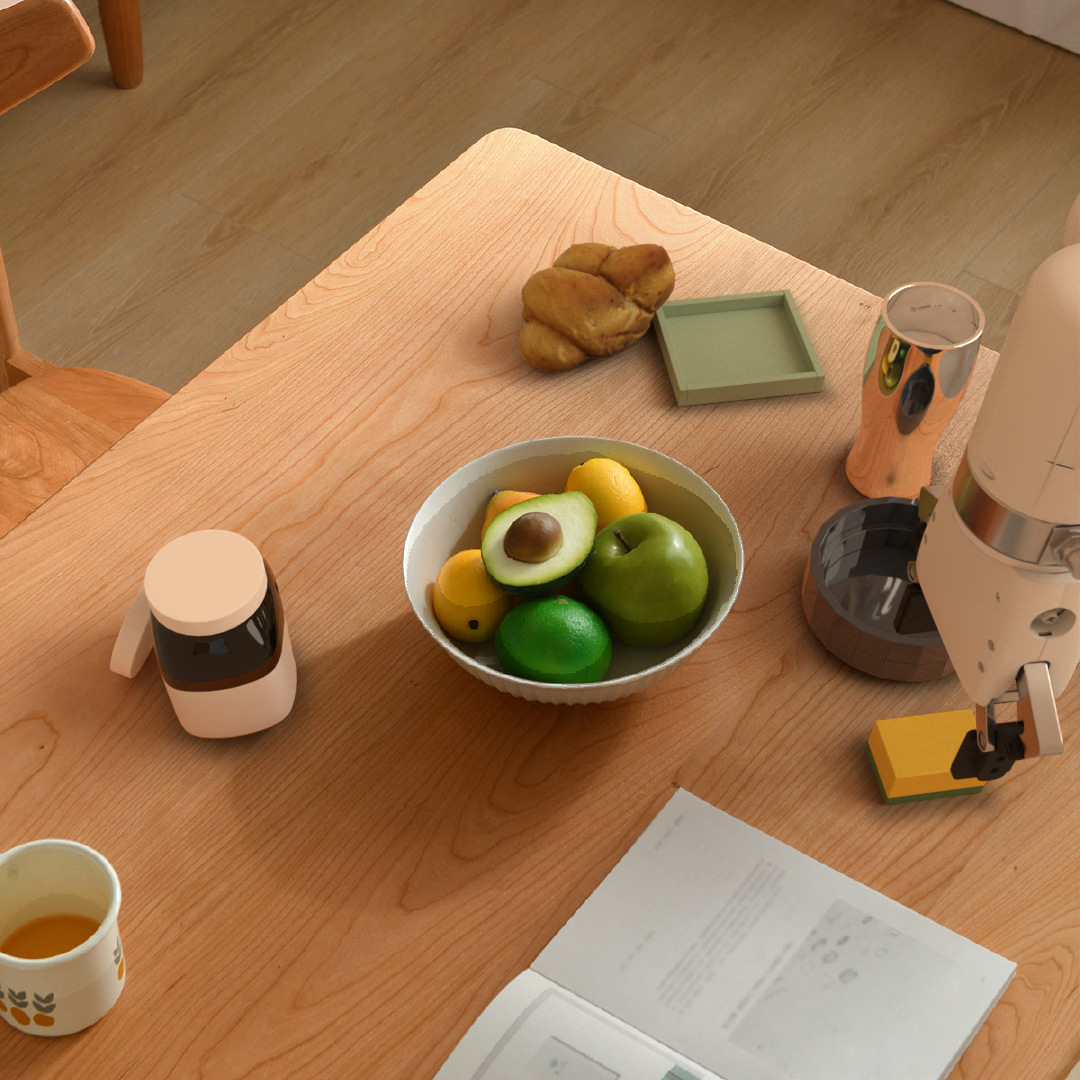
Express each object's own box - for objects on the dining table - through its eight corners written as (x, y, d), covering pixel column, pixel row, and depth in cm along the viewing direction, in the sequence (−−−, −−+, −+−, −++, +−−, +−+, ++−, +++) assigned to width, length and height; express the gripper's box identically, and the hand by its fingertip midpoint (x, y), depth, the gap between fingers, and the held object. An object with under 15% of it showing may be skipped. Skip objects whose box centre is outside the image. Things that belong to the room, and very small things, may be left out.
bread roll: (555, 403, 103) (556, 323, 97) (480, 335, 108) (476, 254, 102) (682, 333, 108) (691, 253, 102) (604, 272, 113) (608, 191, 107)
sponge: (958, 735, 84) (971, 707, 82) (981, 792, 81) (994, 765, 79) (864, 748, 83) (874, 720, 81) (885, 805, 81) (895, 778, 78)
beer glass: (830, 495, 97) (869, 336, 85) (848, 429, 101) (887, 269, 89) (928, 519, 95) (981, 360, 84) (942, 451, 100) (994, 291, 88)
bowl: (949, 530, 95) (965, 487, 91) (1014, 674, 87) (1033, 632, 83) (780, 550, 94) (789, 507, 90) (829, 697, 86) (841, 656, 82)
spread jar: (306, 744, 84) (278, 633, 75) (119, 776, 82) (68, 667, 73) (290, 592, 91) (262, 475, 82) (118, 620, 90) (71, 504, 81)
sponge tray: (786, 305, 110) (789, 288, 109) (821, 391, 104) (825, 375, 102) (651, 318, 109) (652, 302, 108) (678, 407, 103) (680, 390, 101)
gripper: (1199, 631, 58) (1072, 826, 71) (1043, 359, 69) (958, 571, 82) (1032, 650, 57) (934, 844, 70) (901, 372, 68) (838, 584, 81)
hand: (947, 697), depth 76 cm, fingers open, 9 cm apart
